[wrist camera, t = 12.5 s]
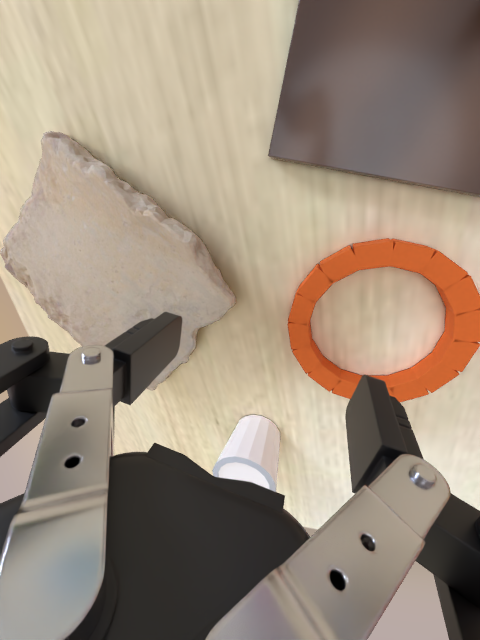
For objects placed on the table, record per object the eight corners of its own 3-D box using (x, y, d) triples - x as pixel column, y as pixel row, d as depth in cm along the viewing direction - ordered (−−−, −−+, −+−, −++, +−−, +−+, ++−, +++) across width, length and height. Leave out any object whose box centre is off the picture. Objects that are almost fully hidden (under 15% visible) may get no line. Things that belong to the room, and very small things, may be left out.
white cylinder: (226, 410, 35) (204, 456, 28) (279, 409, 32) (267, 458, 26) (240, 452, 37) (222, 502, 31) (290, 454, 34) (282, 509, 28)
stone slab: (83, 99, 26) (11, 255, 34) (4, 56, 19) (-63, 265, 27) (267, 278, 28) (161, 386, 36) (257, 297, 21) (128, 425, 29)
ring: (275, 364, 30) (272, 373, 28) (317, 221, 23) (316, 223, 22) (420, 411, 27) (427, 424, 26) (514, 265, 21) (530, 270, 19)
